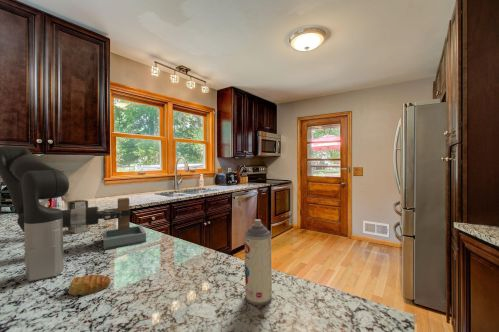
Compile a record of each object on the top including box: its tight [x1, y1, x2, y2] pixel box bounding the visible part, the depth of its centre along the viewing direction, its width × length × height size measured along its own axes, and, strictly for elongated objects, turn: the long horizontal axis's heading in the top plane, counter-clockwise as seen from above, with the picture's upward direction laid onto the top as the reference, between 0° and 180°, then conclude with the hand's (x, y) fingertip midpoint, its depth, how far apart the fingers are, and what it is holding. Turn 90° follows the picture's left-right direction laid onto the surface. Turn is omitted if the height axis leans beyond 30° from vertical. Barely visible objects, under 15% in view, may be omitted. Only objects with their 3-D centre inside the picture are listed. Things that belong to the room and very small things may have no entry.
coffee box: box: [66, 199, 89, 234], centre depth 121 cm, size 9×6×16 cm
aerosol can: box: [244, 218, 273, 307], centre depth 58 cm, size 7×7×20 cm
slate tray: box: [102, 225, 147, 251], centre depth 104 cm, size 16×16×4 cm
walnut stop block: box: [117, 197, 131, 231], centre depth 104 cm, size 4×4×14 cm
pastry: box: [68, 273, 112, 297], centre depth 64 cm, size 9×7×4 cm
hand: (130, 211), depth 105 cm, fingers closed on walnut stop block, 4 cm apart
